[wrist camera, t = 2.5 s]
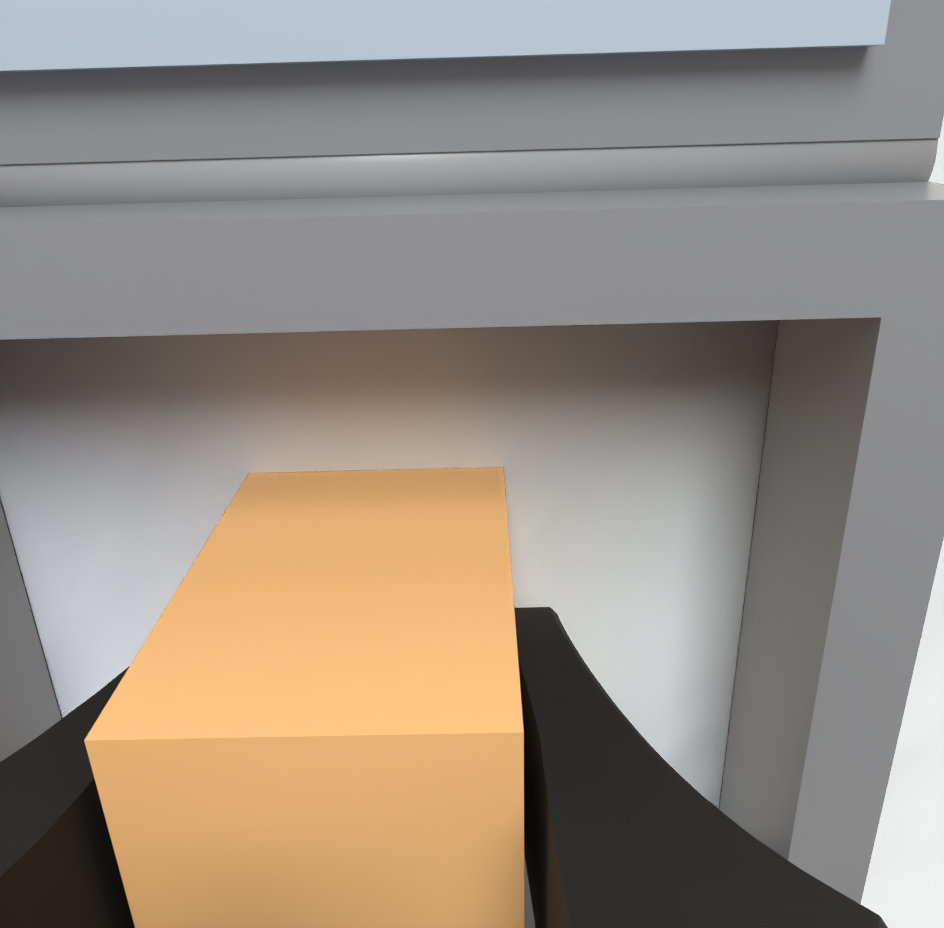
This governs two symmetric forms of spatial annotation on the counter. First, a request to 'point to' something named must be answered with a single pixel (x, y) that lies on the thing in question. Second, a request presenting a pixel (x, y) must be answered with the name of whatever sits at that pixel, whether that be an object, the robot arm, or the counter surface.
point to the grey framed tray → (542, 272)
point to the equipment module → (328, 714)
